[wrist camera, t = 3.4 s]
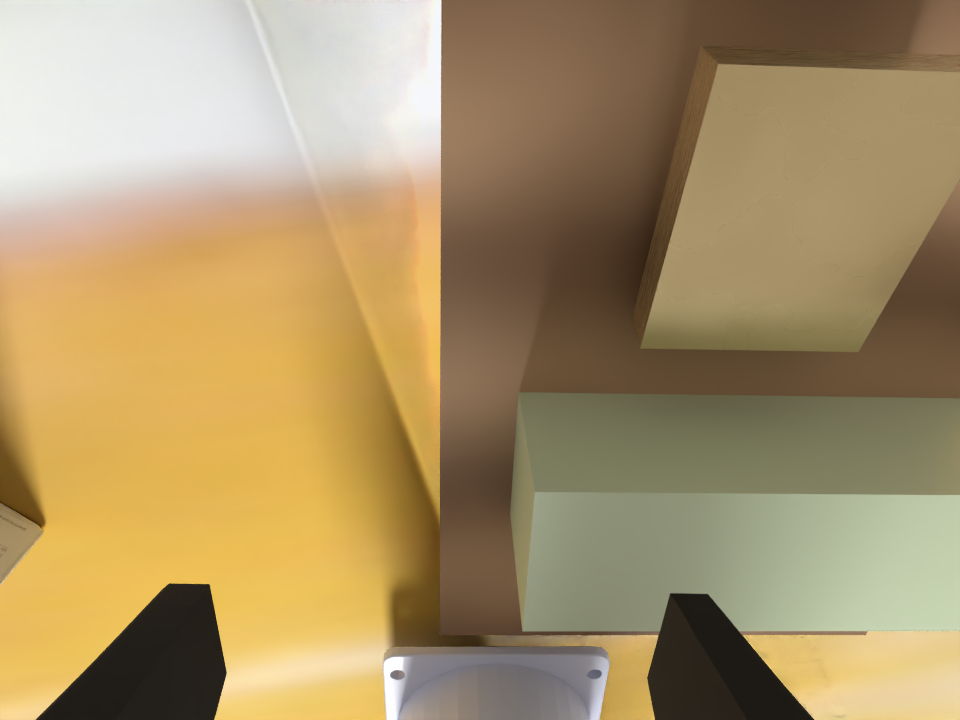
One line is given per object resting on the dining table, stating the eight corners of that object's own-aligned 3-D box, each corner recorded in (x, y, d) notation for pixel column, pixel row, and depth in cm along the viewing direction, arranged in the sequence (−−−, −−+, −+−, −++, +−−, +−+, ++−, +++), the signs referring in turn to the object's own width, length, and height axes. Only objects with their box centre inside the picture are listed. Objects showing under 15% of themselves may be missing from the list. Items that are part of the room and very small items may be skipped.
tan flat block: (838, 324, 15) (857, 352, 14) (631, 320, 15) (639, 348, 14) (982, 56, 11) (1021, 74, 10) (700, 45, 11) (718, 63, 10)
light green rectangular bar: (918, 516, 18) (1029, 631, 15) (509, 514, 18) (522, 631, 14) (971, 398, 16) (1112, 495, 13) (518, 392, 16) (534, 491, 12)
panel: (825, 576, 23) (895, 678, 19) (441, 575, 22) (438, 680, 19) (1179, -346, 12) (1497, -519, 8) (446, -392, 11) (439, -596, 8)
